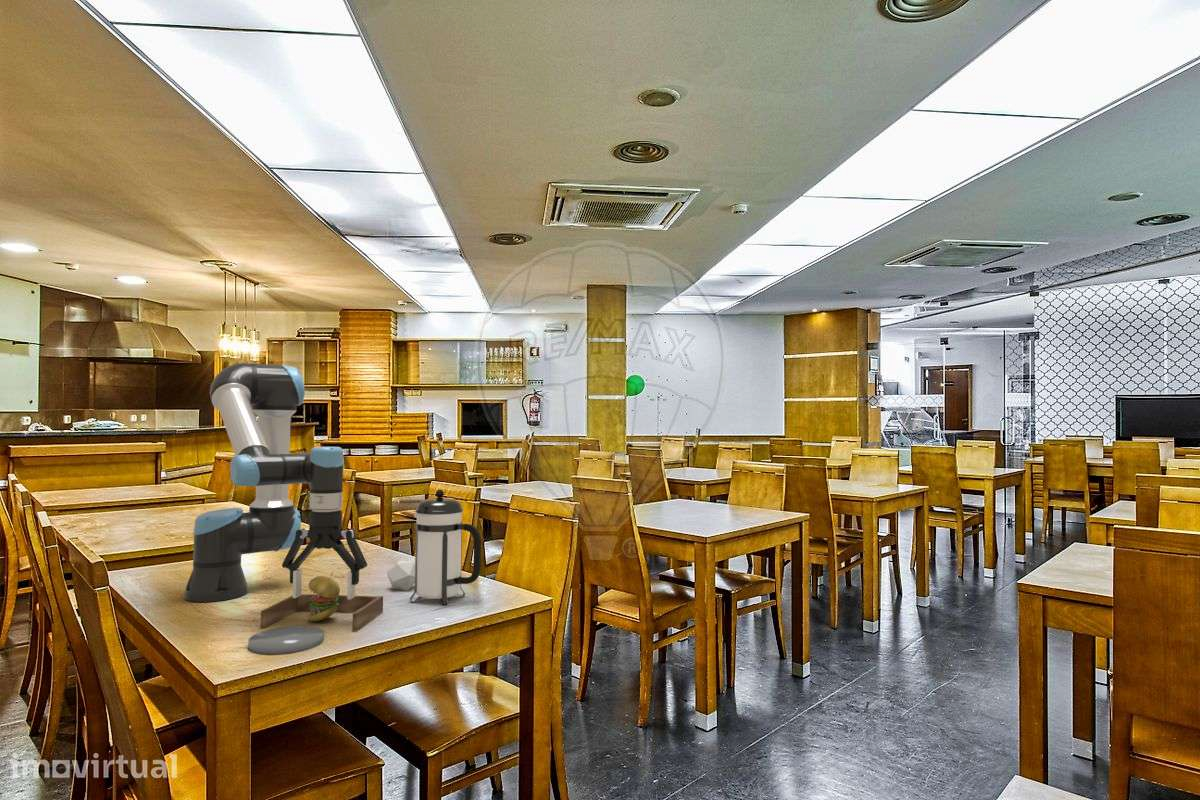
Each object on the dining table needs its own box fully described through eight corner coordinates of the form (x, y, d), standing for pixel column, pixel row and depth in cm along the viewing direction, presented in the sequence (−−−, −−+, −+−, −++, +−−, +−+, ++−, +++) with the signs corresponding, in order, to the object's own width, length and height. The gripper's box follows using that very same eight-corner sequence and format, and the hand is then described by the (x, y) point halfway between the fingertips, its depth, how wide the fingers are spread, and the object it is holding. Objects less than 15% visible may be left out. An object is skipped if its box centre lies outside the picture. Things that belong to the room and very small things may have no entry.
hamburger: (313, 616, 169) (314, 567, 170) (343, 615, 170) (344, 567, 170) (302, 625, 162) (303, 574, 162) (333, 624, 162) (335, 574, 163)
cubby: (260, 628, 159) (260, 610, 159) (295, 609, 175) (295, 593, 175) (356, 631, 158) (356, 613, 158) (382, 612, 173) (383, 596, 174)
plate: (233, 653, 142) (233, 645, 142) (272, 631, 157) (272, 624, 157) (303, 655, 141) (303, 648, 141) (335, 633, 156) (335, 626, 156)
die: (425, 589, 200) (417, 559, 205) (415, 580, 193) (408, 550, 198) (398, 600, 199) (391, 570, 204) (387, 591, 192) (381, 560, 197)
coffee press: (414, 610, 175) (416, 493, 176) (406, 595, 190) (408, 487, 191) (480, 603, 182) (482, 491, 183) (467, 590, 197) (469, 486, 198)
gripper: (268, 511, 164) (266, 600, 163) (369, 512, 162) (367, 602, 161) (284, 507, 171) (282, 592, 170) (381, 508, 170) (380, 594, 169)
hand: (324, 597), depth 166 cm, fingers open, 13 cm apart
